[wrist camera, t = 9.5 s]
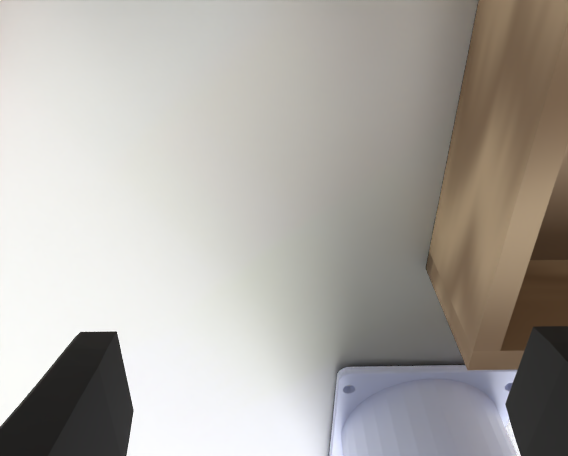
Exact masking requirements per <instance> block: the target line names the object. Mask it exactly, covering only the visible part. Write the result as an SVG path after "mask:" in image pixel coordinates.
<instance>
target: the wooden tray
mask: <svg viewBox="0 0 568 456" xmlns="http://www.w3.org/2000/svg"><path fill="white" fill-rule="evenodd" d="M426 270H427V273H428V275H429V278H430V280H431V282H432V285H433V287H434V290H435V292H436V295H437V297H438V300H439V302H440V304H441V307H442V309H443V312H444V314H445V317H446V319H447V321H448V324H449V326H450V329H451V331H452V334H453V336H454V339H455V341H456V343H457V346H458V348H459V351H460V353H461V356H462V358H463V360H464V363H465V365H466V368H467V370H518V367H519V364H520V362H521V359H522V356H523V353H524V350H525V348H526V345H527V342H528V339H529V337H530V334H531V331H532V328H533V327H534V326H568V0H479V2H478V7H477V12H476V17H475V22H474V27H473V32H472V37H471V42H470V47H469V52H468V57H467V62H466V67H465V72H464V77H463V82H462V88H461V93H460V98H459V103H458V108H457V113H456V118H455V123H454V128H453V133H452V138H451V143H450V148H449V153H448V158H447V163H446V168H445V173H444V179H443V184H442V189H441V194H440V199H439V204H438V209H437V214H436V219H435V224H434V229H433V234H432V239H431V244H430V249H429V254H428V259H427V264H426Z"/></svg>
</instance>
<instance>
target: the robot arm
mask: <svg viewBox="0 0 568 456" xmlns="http://www.w3.org/2000/svg"><path fill="white" fill-rule="evenodd" d="M348 385H351V386H348ZM132 417H133V406H132V401H131V397H130V392H129V387H128V382H127V378H126V373H125V368H124V363H123V359H122V354H121V349H120V345H119V340H118V335H117V332H80V333H79V334H78V335H77V336H76V337H75V338H74V339H73V340H72V342H71V343H70V344H69V345H68V347H67V348H66V349H65V350H64V352H63V353H62V354H61V355H60V356H59V358H58V359H57V360H56V361H55V363H54V364H53V365H52V366H51V368H50V369H49V370H48V371H47V372H46V374H45V375H44V376H43V377H42V379H41V380H40V381H39V382H38V383H37V385H36V386H35V387H34V388H33V389H32V391H31V392H30V393H29V394H28V395H27V397H26V398H25V399H24V400H23V401H22V402H21V404H20V405H19V406H18V407H17V408H16V409H15V410H14V412H13V413H12V414H11V415H10V416H9V417H8V418H7V420H6V421H5V422H4V423H3V424H2V425H1V426H0V456H126V454H127V449H128V443H129V436H130V430H131V423H132ZM509 419H510V422H511V426H512V429H513V432H514V436H515V439H516V442H517V445H518V448H519V451H520V454H521V456H568V326H534V327H533V328H532V331H531V334H530V337H529V339H528V342H527V345H526V348H525V350H524V353H523V356H522V359H521V362H520V364H519V367H518V370H467V368H466V365H438V366H370V367H345V368H343V369H341V370H340V371H339V372H338V374H337V382H336V392H335V402H334V412H333V422H332V432H331V443H330V453H329V456H517V453H516V451H515V449H514V447H513V444H512V442H511V440H510V437H509V435H508V433H507V430H506V426H507V424H508V421H509Z"/></svg>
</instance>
